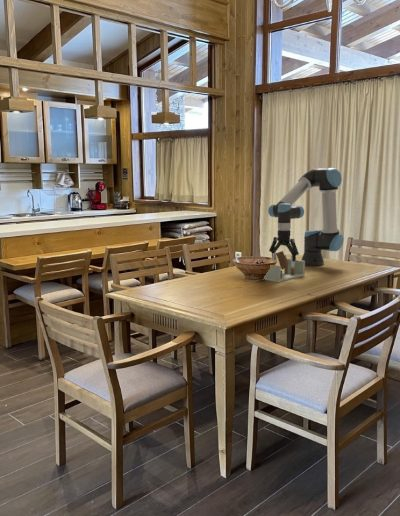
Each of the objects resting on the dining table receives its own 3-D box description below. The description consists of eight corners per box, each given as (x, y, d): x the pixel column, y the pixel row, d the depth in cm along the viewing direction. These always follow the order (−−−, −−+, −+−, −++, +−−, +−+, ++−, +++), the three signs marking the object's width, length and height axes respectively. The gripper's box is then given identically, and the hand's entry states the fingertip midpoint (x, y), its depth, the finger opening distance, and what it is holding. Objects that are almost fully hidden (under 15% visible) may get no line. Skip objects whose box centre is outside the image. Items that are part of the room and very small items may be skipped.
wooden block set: (282, 268, 304) (277, 253, 305) (295, 265, 300) (289, 249, 300) (270, 273, 289) (265, 256, 290) (283, 269, 284) (277, 252, 285)
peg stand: (287, 272, 308) (287, 258, 306) (304, 275, 298) (304, 260, 297) (261, 278, 291) (261, 263, 290) (278, 282, 282) (278, 266, 280)
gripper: (263, 228, 296) (263, 263, 300) (297, 232, 278) (296, 268, 282) (271, 227, 301) (271, 261, 305) (305, 230, 283) (304, 266, 287)
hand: (283, 265), depth 293 cm, fingers open, 13 cm apart
